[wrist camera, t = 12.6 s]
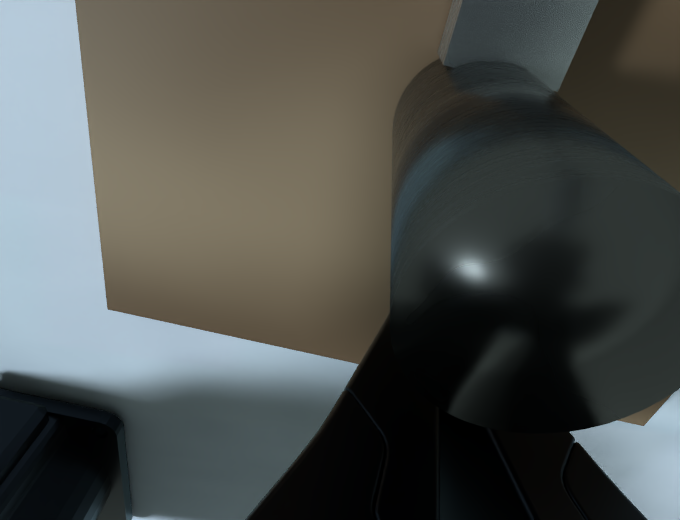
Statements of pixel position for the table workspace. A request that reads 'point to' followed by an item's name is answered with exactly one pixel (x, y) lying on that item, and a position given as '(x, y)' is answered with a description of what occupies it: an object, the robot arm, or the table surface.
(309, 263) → the wooden board with blocks
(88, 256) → the table surface
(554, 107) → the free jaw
